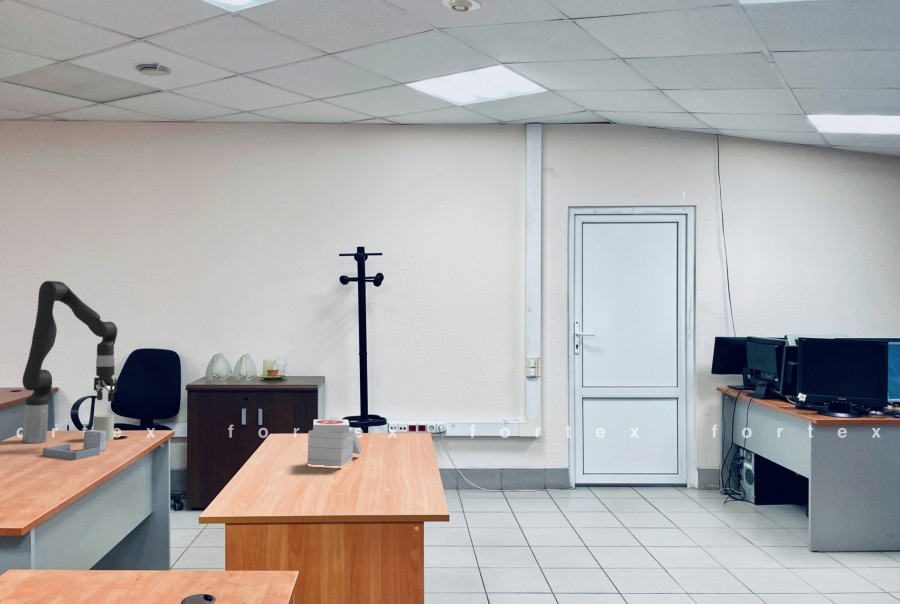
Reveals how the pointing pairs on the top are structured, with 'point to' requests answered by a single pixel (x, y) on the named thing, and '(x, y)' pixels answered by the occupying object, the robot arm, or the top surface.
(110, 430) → the can
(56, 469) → the top surface
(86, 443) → the medicine box
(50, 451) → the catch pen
